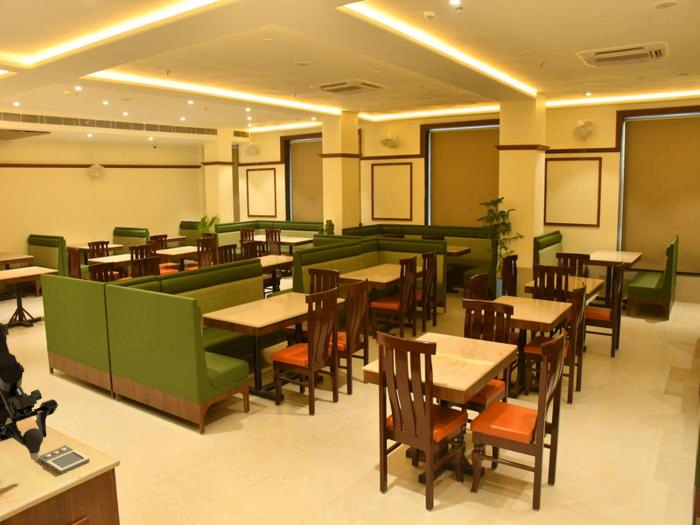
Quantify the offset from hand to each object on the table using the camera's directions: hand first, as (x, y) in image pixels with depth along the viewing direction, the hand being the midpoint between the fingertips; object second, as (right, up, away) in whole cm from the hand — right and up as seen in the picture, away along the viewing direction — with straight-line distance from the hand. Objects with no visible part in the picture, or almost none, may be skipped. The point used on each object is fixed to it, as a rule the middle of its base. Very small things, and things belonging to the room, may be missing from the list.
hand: (35, 440), depth 172 cm
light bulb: (-1, -7, +2) cm, 7 cm away
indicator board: (+3, -10, +11) cm, 15 cm away
